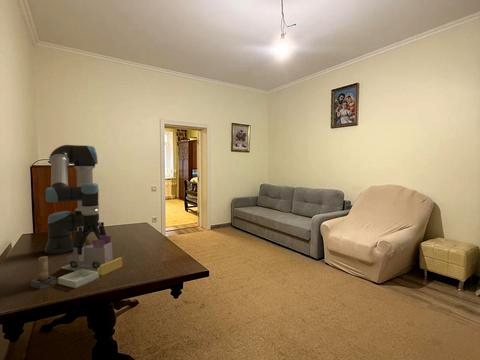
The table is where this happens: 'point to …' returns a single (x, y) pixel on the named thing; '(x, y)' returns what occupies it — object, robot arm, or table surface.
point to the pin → (43, 268)
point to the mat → (80, 267)
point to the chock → (110, 266)
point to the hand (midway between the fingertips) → (91, 257)
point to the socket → (46, 283)
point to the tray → (78, 278)
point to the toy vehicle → (93, 253)
